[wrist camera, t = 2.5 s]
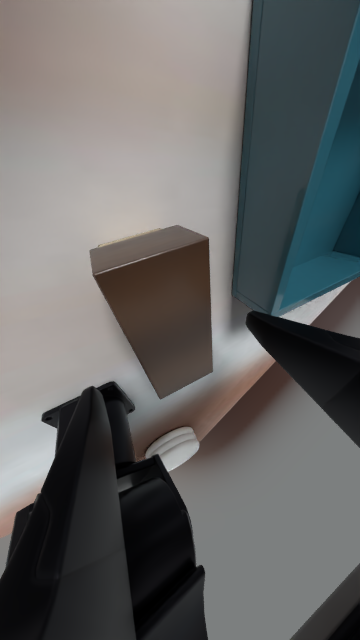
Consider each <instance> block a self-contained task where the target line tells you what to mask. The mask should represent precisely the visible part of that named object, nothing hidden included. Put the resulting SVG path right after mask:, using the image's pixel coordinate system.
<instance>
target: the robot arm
mask: <svg viewBox="0 0 360 640" xmlns="http://www.w3.org/2000/svg"><path fill="white" fill-rule="evenodd" d="M246 326H247V328H248V329H249V330H250V331H251V333H252V334H253V335H254V337H255V338H256V339H257V340H258V342H259V343H260V344H261V345H262V347H263V348H264V349H265V350H266V351H267V352H268V353H269V354H270V355H271V356H272V357H273V358H274V359H275V360H276V361H277V362H278V363H279V364H280V365H281V366H282V367H283V369H285V370H286V372H287V373H288V374H289V375H290V376H291V377H292V378H293V379H294V380H295V381H296V382H297V383H298V384H299V385H300V386H301V387H302V388H303V389H304V390H305V391H306V392H307V393H308V395H309V396H310V397H311V398H312V399H313V400H314V401H315V402H316V403H317V404H318V405H319V406H320V407H321V408H322V409H323V410H324V411H325V412H326V413H327V414H328V415H329V417H330V418H331V419H332V420H333V421H334V422H335V423H336V424H338V426H339V427H340V428H341V429H342V430H343V431H344V432H345V433H346V434H347V435H348V436H349V437H350V438H351V439H352V440H353V441H354V443H355V444H356V445H357V446H358V447H359V448H360V338H355V337H351V336H347V335H343V334H339V333H335V332H331V331H328V330H324V329H320V328H317V327H313V326H309V325H306V324H302V323H298V322H295V321H291V320H287V319H283V318H280V317H276V316H272V315H269V314H265V313H261V312H258V311H251V312H249V313H248V314H247V317H246ZM134 410H135V406H134V404H133V403H132V402H131V401H130V399H129V398H128V397H127V396H126V395H125V393H124V392H123V391H122V390H121V389H120V388H119V386H118V385H117V384H116V383H115V382H109V383H106V384H104V385H102V386H100V387H98V388H95V387H94V386H91V387H88V388H86V389H85V390H84V391H83V392H82V395H81V396H79V397H77V398H75V399H73V400H70V401H68V402H66V403H64V404H62V405H60V406H58V407H56V408H53V409H51V410H49V411H47V412H45V413H43V415H42V420H41V421H42V422H44V423H46V424H48V425H51V426H53V427H55V428H57V440H56V450H55V459H54V461H53V463H52V466H51V468H50V470H49V473H48V475H47V477H46V480H45V482H44V485H43V487H42V489H41V493H40V494H38V495H37V497H36V499H35V501H34V503H32V504H30V505H29V506H27V507H25V508H24V509H22V510H20V511H18V512H17V513H16V516H15V521H14V526H13V531H12V536H11V541H10V546H9V551H8V557H7V562H6V568H5V571H4V573H3V575H2V577H1V579H0V640H208V637H207V631H206V623H205V617H204V616H205V615H204V597H203V590H204V581H205V571H204V568H203V566H202V565H199V566H197V567H196V554H195V545H194V539H193V531H192V525H191V520H190V517H189V514H188V511H187V508H186V506H185V504H184V502H183V500H182V498H181V496H180V494H179V492H178V490H177V488H176V487H175V485H174V483H173V481H172V479H171V477H170V475H169V473H168V471H167V469H166V468H165V466H164V464H163V462H162V460H161V458H160V456H159V454H155V455H153V456H151V457H150V458H147V459H144V460H142V461H139V462H136V458H135V453H134V448H133V443H132V439H131V434H130V429H129V424H128V419H127V414H129V413H131V412H133V411H134ZM290 640H360V564H359V565H358V566H357V567H356V568H355V569H354V570H353V571H352V572H351V573H350V574H349V575H348V577H347V578H346V579H345V580H344V581H343V582H342V583H341V584H340V585H339V587H337V589H336V590H335V591H334V592H333V593H332V594H331V595H330V596H329V597H328V598H327V599H326V601H325V602H324V603H323V604H322V605H321V606H320V607H319V608H318V609H317V610H316V612H315V613H314V614H313V615H312V616H311V617H310V618H309V619H308V620H307V621H306V622H305V623H304V625H303V626H302V627H301V628H300V629H299V630H298V631H297V632H296V633H295V634H294V635H293V637H292V638H291V639H290Z"/></svg>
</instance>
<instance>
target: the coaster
mask: <svg viewBox="0 0 360 640" xmlns="http://www.w3.org/2000/svg"><path fill="white" fill-rule="evenodd" d="M198 449H199V442H198V440H197V438H196V435H195V434H194V431H193V429H192V428H191V427H181V428H178V429H175V430H173V431H171V432H169V433H167V434H165V435H163V436H162V437H160V438H159V439H158V440H156V441H155V442H154V443H153V444H152V445H151V446H150V447H149V448H148V449H147V451H146V459H147V458H150V457H151V456H153V455H155V454H159V456H160V458H161V460H162V462H163V464H164V466H165V468H166V469H167V471H168V472H169V471H171V470H173V469H174V468H176V467H178V466H179V465H181V464H182V463H184V462H185V461H187V460H188V459H189V458H190V457H192V456H193V455H194V454H195V453H196V451H197V450H198Z"/></svg>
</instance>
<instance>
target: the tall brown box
mask: <svg viewBox="0 0 360 640" xmlns="http://www.w3.org/2000/svg"><path fill="white" fill-rule="evenodd" d="M90 258H91V265H92V273H93V277H94V279H95V281H96V282H97V284H98V286H99V288H100V290H101V292H102V293H103V295H104V297H105V299H106V301H107V303H108V304H109V306H110V308H111V310H112V312H113V314H114V316H115V317H116V319H117V321H118V323H119V325H120V327H121V328H122V330H123V332H124V334H125V336H126V338H127V339H128V341H129V343H130V345H131V347H132V349H133V351H134V352H135V354H136V356H137V358H138V360H139V362H140V363H141V365H142V367H143V369H144V371H145V373H146V374H147V376H148V378H149V380H150V382H151V384H152V386H153V387H154V389H155V391H156V393H157V395H158V397H159V398H160V399H163V398H164V397H166V396H168V395H170V394H172V393H174V392H176V391H178V390H179V389H181V388H183V387H185V386H187V385H189V384H191V383H193V382H194V381H196V380H198V379H200V378H202V377H204V376H206V375H208V374H210V373H211V372H213V363H212V330H211V297H210V264H209V238H208V237H206V236H203V235H201V234H199V233H196V232H194V231H191V230H189V229H186V228H184V227H181V226H179V225H175V226H172V227H168V228H165V229H160V228H159V229H155V230H152V231H148V232H145V233H141V234H138V235H134V236H131V237H127V238H123V239H120V240H116V241H113V242H109V243H106V244H102V245H99V246H98V248H95V249H92V250H90Z"/></svg>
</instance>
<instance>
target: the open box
mask: <svg viewBox="0 0 360 640" xmlns="http://www.w3.org/2000/svg"><path fill="white" fill-rule="evenodd" d="M358 277H360V0H253V12H252V26H251V39H250V53H249V67H248V81H247V95H246V108H245V122H244V136H243V150H242V163H241V177H240V191H239V205H238V219H237V232H236V246H235V260H234V274H233V287H232V295H233V296H234V297H236V298H237V299H238V300H240V301H241V302H243V303H244V304H245V305H247V306H248V307H250V308H251V309H252V310H254V311H258V312H261V313H265V314H269V315H272V316H276V317H279V316H281V315H283V314H285V313H287V312H289V311H291V310H293V309H295V308H297V307H299V306H301V305H303V304H305V303H307V302H309V301H311V300H313V299H315V298H317V297H319V296H321V295H323V294H325V293H327V292H330V291H332V290H334V289H336V288H338V287H340V286H342V285H344V284H346V283H348V282H350V281H352V280H353V279H356V278H358Z"/></svg>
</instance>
